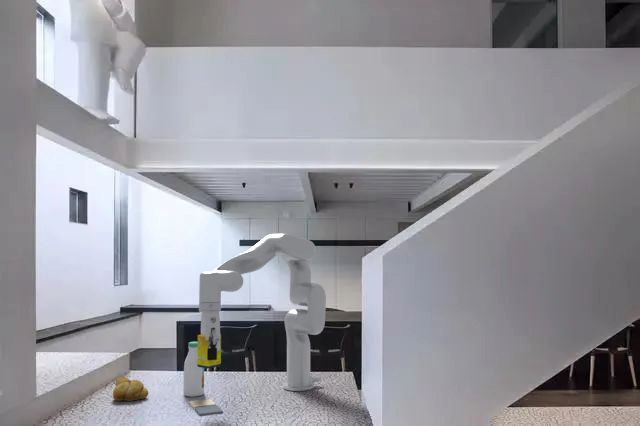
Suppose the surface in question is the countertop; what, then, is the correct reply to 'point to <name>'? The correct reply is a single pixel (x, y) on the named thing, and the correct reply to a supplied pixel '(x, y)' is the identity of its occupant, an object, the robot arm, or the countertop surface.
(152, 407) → the countertop surface
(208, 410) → the slate mat
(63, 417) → the countertop surface
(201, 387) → the milk bottle
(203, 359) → the supplement box
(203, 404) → the cream square tile
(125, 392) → the bread roll
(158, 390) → the countertop surface
